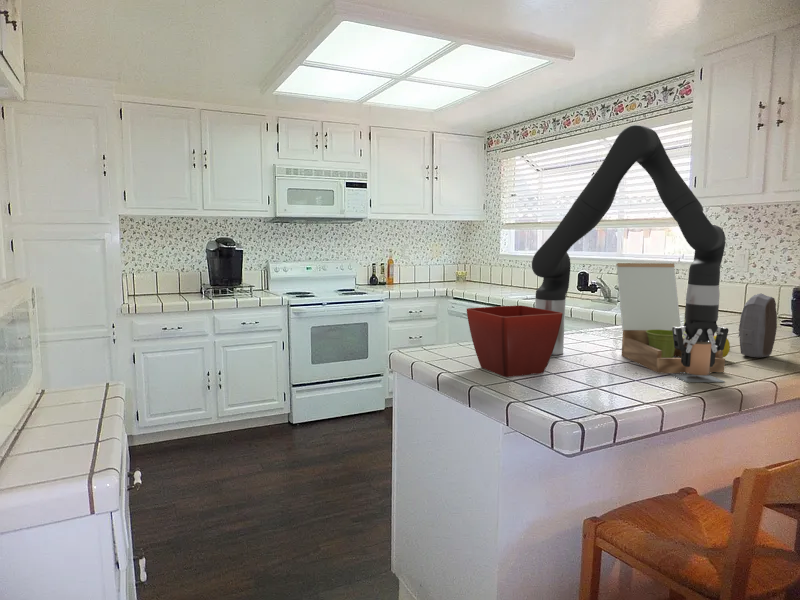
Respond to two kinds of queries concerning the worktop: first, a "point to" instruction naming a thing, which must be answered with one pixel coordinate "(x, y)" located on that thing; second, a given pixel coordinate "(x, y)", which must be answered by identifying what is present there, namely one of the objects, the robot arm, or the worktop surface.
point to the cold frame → (657, 354)
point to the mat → (697, 378)
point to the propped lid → (648, 296)
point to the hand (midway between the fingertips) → (697, 365)
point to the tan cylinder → (700, 358)
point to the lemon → (726, 348)
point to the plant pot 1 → (514, 338)
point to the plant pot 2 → (662, 342)
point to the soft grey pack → (758, 326)
